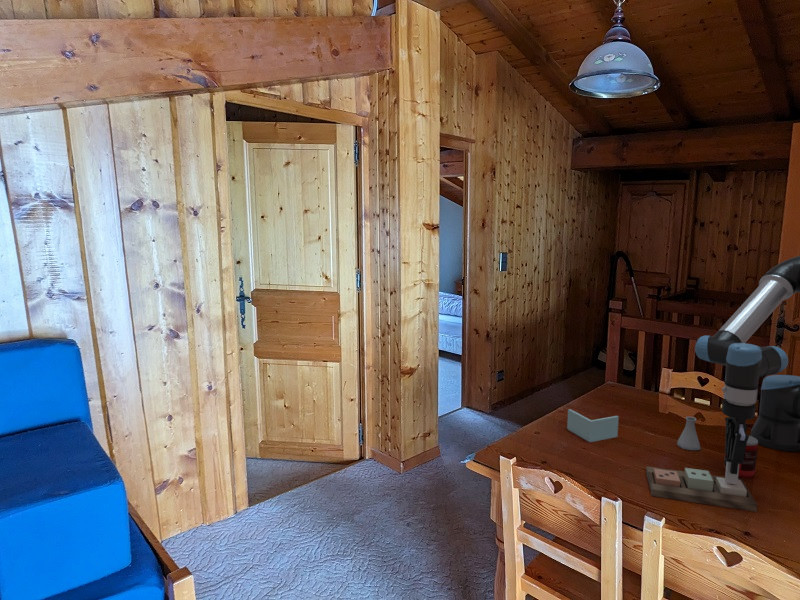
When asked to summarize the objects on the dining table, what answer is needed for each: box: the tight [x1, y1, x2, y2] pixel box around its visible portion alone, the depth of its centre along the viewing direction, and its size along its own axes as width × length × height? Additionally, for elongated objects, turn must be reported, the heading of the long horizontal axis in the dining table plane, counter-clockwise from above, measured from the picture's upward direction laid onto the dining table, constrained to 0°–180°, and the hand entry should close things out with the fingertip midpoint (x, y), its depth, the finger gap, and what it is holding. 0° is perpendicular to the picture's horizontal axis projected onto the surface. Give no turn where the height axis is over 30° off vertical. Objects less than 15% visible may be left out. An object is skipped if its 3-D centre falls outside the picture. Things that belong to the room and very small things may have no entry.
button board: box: [645, 465, 758, 513], centre depth 147 cm, size 25×14×2 cm, turn 71°
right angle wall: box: [566, 409, 619, 443], centre depth 186 cm, size 12×12×8 cm
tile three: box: [653, 467, 680, 487], centre depth 149 cm, size 6×6×3 cm
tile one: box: [715, 477, 747, 497], centre depth 144 cm, size 6×6×3 cm
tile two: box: [684, 467, 713, 492], centre depth 146 cm, size 6×6×3 cm
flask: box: [676, 416, 701, 451], centre depth 174 cm, size 7×7×10 cm
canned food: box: [723, 435, 759, 479], centre depth 156 cm, size 8×8×11 cm
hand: (730, 482), depth 144 cm, fingers closed
